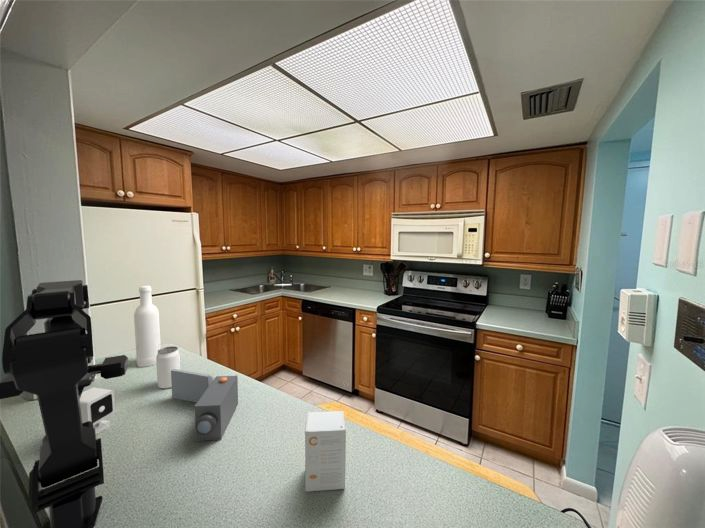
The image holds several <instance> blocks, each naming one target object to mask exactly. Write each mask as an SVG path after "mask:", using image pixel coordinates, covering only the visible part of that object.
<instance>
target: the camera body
mask: <svg viewBox="0 0 705 528" xmlns="http://www.w3.org/2000/svg"><path fill="white" fill-rule="evenodd" d="M210 383H211V384H210V386H209V387H208V388H207V390H206V391H205V392H204V394H203V395H202V397H201V398H200V399H199V401H198V402H195V405H194V429H195V430H194V431H195V433H194V434H195V441H197V442H198V441H199V442H200V441H214V440H215V441H216V440H222V439H223V437H224V436H225V435H224V434H225V433H226V430H227V428H228V426H229V425H230V422H231V420H232V418H233V416H234V413H235V411H236V410H237V408H236V407H238V406H237V405H239V393H238V392H239V388H238V387H239V386H238V384H239V382H238V375H221V376H219V375H217V376H216V375H210Z"/></svg>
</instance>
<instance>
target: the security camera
mask: <svg viewBox="0 0 705 528" xmlns="http://www.w3.org/2000/svg"><path fill="white" fill-rule="evenodd" d="M115 400H116V399H115V391H114V390H112V389H106V388H100V387H91V388H89V389H87V390H85V391H83V392H82V395H81V398H80V408H81V416H82V423H85V422H88V421H91V422H92V423H93V428H94V429H95V433H96V435H98V434H99V433H101V432H102V431H103V430H105V429H107V428H109V427H110V426H111V425H110V424H111V423H110V420H108V419H107V418H108V417H110V416H112V415H114V413H115V412H116V402H115ZM106 419H107V420H106Z"/></svg>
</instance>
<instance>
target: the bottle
mask: <svg viewBox="0 0 705 528" xmlns="http://www.w3.org/2000/svg"><path fill="white" fill-rule="evenodd" d="M138 288H139V289H138V292H139V306H138V307H136V308H135V311H134V314H133V321H134V336H135V337H134V338H135V339H134V340H135V351H136V352H135V353H136V354H135V355H136V357H135V359H136V366H138V367H141V368H146V367H153V366H154V365H155V366H156V365H157V363H156V356H157V354H158V350H160V349H162V347H161V328H160V327H161V325H160V310H159V308H158V307H157V306H156V305H155V304H153V301H152V299H153V297H152V291H153V289H152V286H151V285H141V286H139V287H138ZM152 365H153V366H152Z"/></svg>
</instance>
